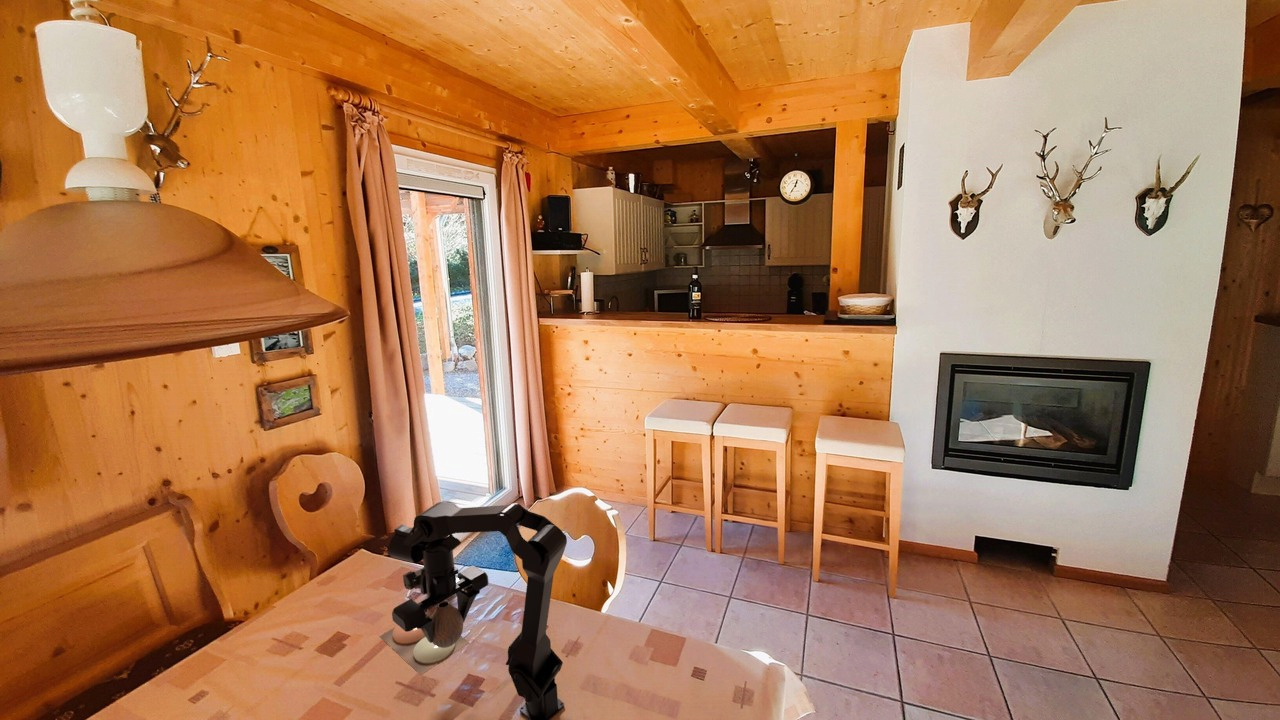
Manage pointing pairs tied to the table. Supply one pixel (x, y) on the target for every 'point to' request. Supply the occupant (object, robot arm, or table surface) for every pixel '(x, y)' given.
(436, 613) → the vase
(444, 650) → the cream disc
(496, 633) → the table surface
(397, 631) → the terracotta disc
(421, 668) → the board
